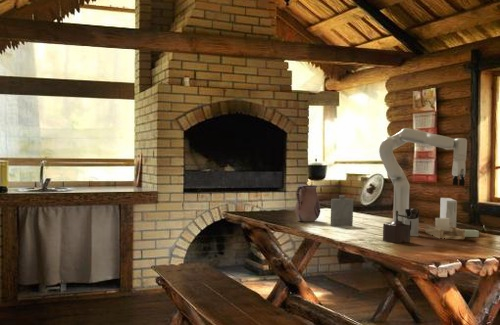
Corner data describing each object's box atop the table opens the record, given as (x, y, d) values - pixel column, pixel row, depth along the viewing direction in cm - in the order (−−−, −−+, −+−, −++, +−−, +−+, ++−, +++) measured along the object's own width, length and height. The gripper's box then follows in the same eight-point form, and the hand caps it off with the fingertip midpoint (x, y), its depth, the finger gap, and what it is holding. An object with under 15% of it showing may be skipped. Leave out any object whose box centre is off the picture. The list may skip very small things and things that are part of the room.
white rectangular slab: (436, 235, 337) (436, 218, 337) (434, 234, 339) (435, 217, 339) (448, 235, 337) (449, 218, 337) (447, 234, 339) (447, 218, 339)
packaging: (456, 233, 348) (457, 201, 348) (445, 232, 349) (446, 200, 349) (449, 228, 378) (450, 198, 378) (439, 227, 379) (440, 197, 379)
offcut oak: (445, 238, 326) (445, 234, 326) (441, 237, 331) (441, 233, 331) (453, 238, 326) (453, 234, 326) (450, 237, 331) (450, 233, 331)
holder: (458, 236, 333) (458, 230, 333) (453, 234, 340) (453, 229, 340) (479, 237, 333) (479, 231, 333) (474, 235, 340) (474, 229, 340)
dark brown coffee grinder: (396, 243, 295) (397, 209, 295) (382, 240, 305) (383, 207, 305) (418, 242, 303) (419, 208, 303) (403, 239, 312) (404, 206, 312)
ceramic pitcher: (324, 221, 395) (325, 185, 395) (310, 223, 377) (311, 186, 377) (301, 219, 404) (302, 184, 404) (287, 221, 387) (288, 184, 386)
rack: (439, 238, 321) (440, 229, 321) (425, 232, 347) (426, 224, 347) (464, 239, 321) (464, 230, 321) (448, 233, 347) (448, 225, 347)
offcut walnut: (444, 234, 327) (444, 231, 327) (443, 233, 331) (443, 230, 331) (451, 234, 326) (451, 231, 326) (450, 233, 330) (450, 230, 330)
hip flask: (331, 226, 366) (332, 195, 366) (328, 225, 370) (329, 195, 370) (353, 226, 372) (354, 195, 371) (350, 225, 375) (351, 195, 375)
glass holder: (421, 235, 332) (422, 210, 332) (408, 237, 323) (409, 210, 323) (408, 233, 339) (409, 208, 339) (395, 235, 329) (395, 209, 329)
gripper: (448, 157, 362) (447, 184, 362) (459, 157, 345) (458, 185, 345) (460, 158, 362) (458, 185, 362) (471, 158, 345) (470, 186, 345)
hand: (458, 185), depth 354 cm, fingers open, 9 cm apart
